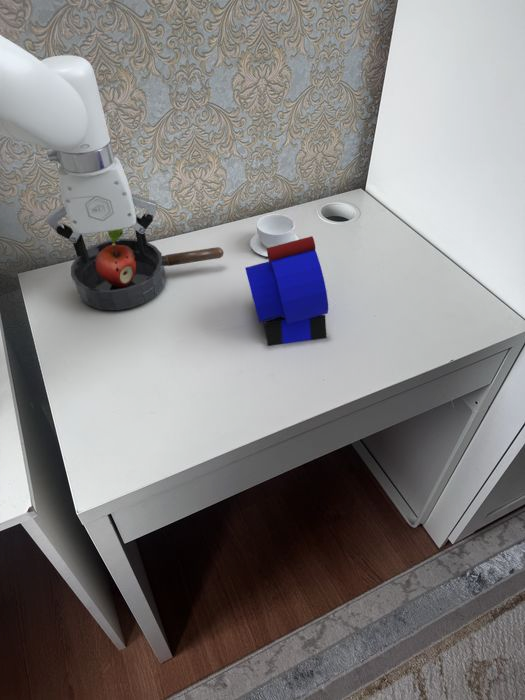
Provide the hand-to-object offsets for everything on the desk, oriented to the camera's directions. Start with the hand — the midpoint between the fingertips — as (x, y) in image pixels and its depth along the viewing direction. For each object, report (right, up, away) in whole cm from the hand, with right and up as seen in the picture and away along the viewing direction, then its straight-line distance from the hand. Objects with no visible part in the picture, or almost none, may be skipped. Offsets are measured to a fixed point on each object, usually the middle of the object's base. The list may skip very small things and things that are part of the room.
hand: (114, 254), depth 82 cm
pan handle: (+13, 0, +5) cm, 14 cm away
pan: (0, -4, +5) cm, 7 cm away
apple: (0, -4, +4) cm, 6 cm away
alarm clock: (+29, -11, -2) cm, 31 cm away
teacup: (+28, +4, +13) cm, 31 cm away
